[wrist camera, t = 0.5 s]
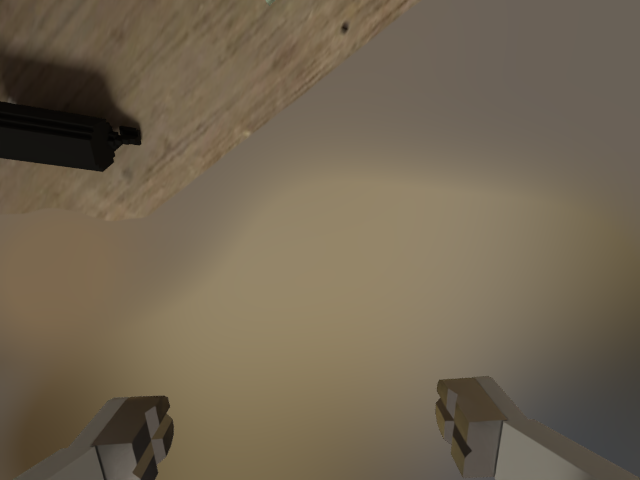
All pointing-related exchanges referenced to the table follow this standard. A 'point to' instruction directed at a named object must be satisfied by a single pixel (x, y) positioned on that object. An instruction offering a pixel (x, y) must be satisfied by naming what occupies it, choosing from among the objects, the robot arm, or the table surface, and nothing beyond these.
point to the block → (270, 2)
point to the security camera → (60, 137)
